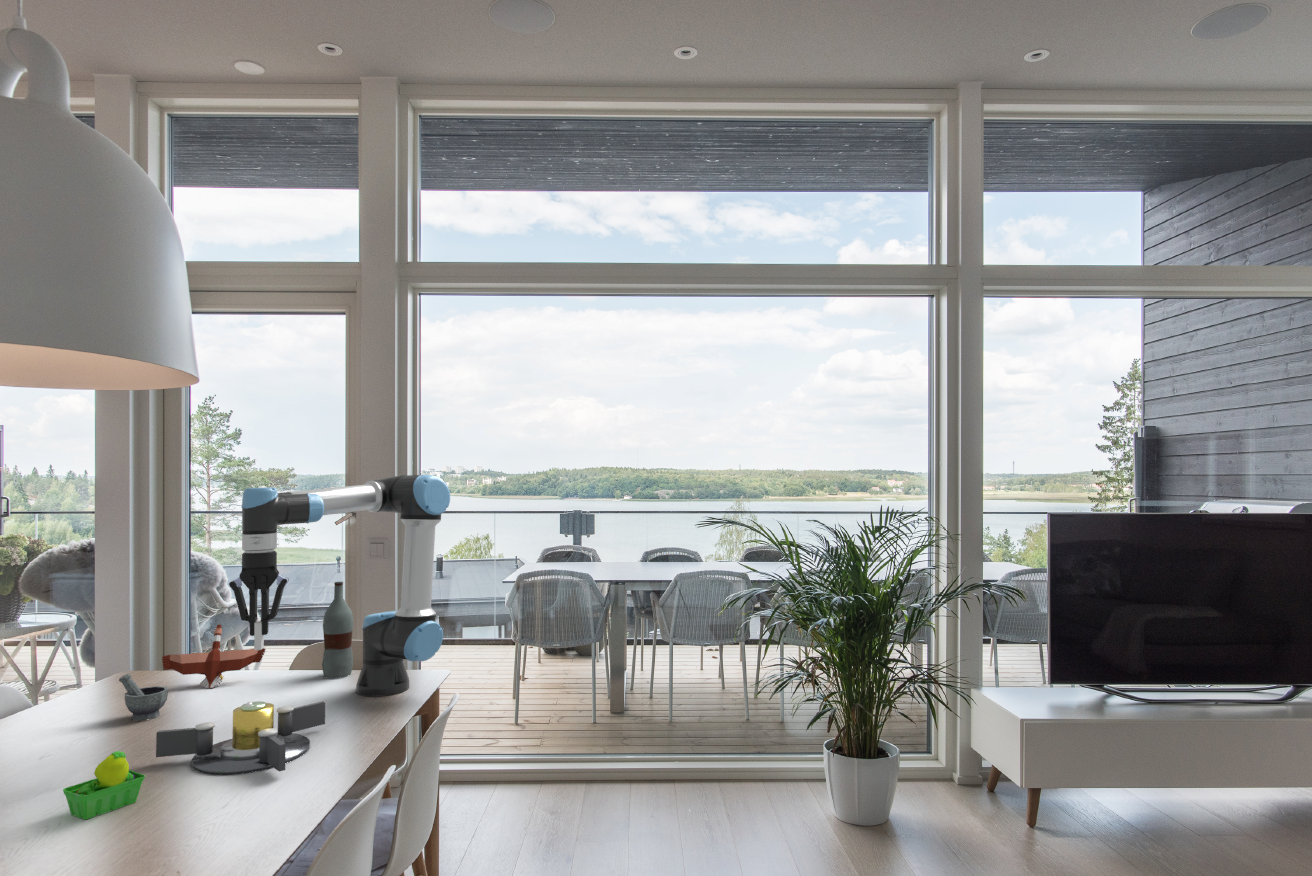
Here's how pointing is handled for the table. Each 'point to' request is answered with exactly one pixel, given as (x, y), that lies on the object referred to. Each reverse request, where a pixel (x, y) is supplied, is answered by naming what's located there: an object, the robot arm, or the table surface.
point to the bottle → (337, 637)
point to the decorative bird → (212, 661)
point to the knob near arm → (300, 717)
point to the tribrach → (247, 743)
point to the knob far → (185, 741)
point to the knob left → (272, 749)
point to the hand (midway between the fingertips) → (259, 648)
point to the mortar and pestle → (143, 699)
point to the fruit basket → (105, 788)
